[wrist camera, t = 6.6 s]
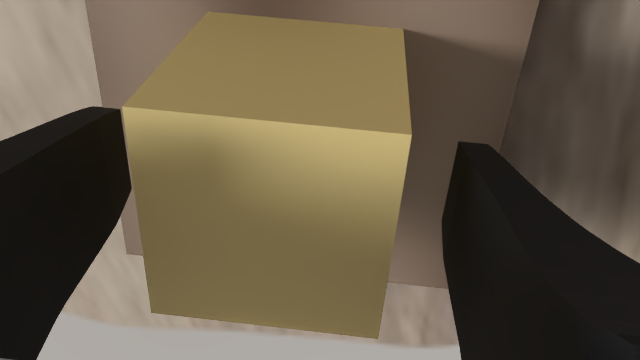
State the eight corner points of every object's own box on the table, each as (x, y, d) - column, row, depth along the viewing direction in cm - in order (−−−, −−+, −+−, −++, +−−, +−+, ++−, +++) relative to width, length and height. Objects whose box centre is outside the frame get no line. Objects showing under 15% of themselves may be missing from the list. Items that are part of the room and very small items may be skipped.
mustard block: (403, 28, 13) (411, 134, 8) (379, 192, 15) (377, 338, 11) (208, 11, 13) (121, 106, 9) (215, 176, 15) (151, 313, 11)
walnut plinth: (533, -101, 13) (562, -86, 11) (454, 237, 19) (463, 290, 17) (114, -132, 14) (64, -123, 12) (155, 205, 19) (126, 253, 17)
